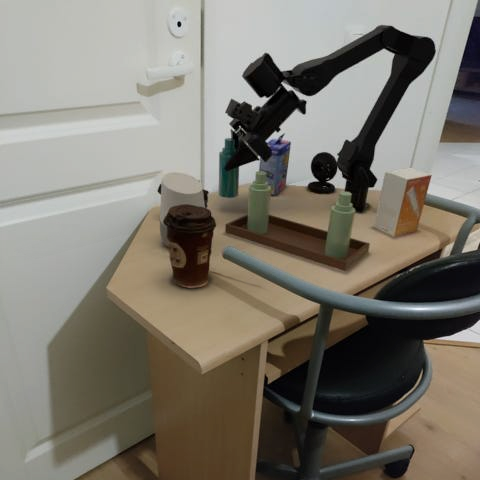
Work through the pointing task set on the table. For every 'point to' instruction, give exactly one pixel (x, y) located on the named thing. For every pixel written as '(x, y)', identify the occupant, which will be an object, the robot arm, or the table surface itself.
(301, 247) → the tray
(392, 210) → the small box
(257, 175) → the sage bottle
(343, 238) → the sage bottle
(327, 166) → the webcam
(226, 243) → the table surface
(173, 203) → the smart speaker
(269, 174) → the ink cartridge box
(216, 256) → the table surface
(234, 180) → the teal bottle
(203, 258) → the coffee cup
